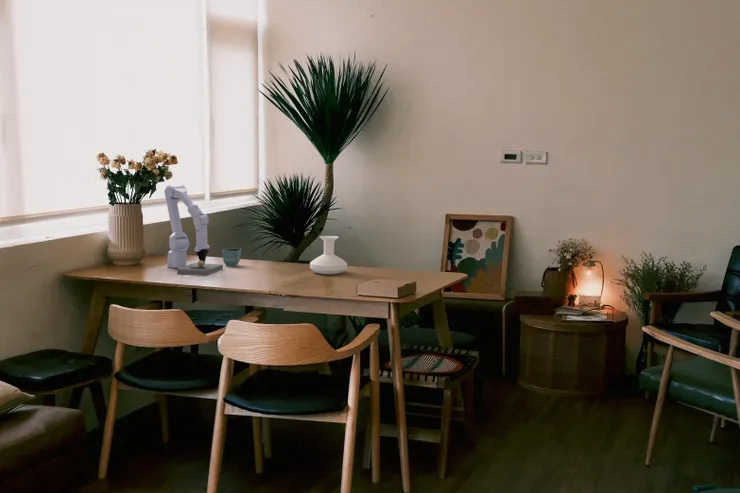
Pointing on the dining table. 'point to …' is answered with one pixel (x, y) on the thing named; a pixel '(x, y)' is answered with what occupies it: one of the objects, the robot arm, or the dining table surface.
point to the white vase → (328, 259)
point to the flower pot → (231, 256)
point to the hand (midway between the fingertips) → (202, 263)
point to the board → (199, 269)
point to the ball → (200, 263)
